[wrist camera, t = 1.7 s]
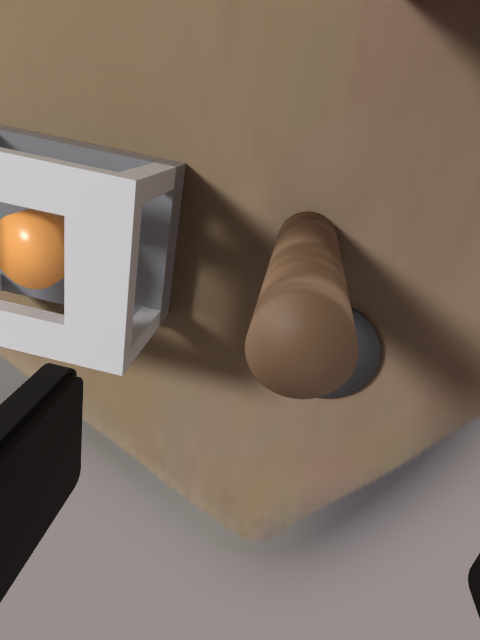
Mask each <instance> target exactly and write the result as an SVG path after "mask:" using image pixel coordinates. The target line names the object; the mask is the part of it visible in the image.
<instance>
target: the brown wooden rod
mask: <svg viewBox="0 0 480 640" xmlns="http://www.w3.org/2000/svg"><path fill="white" fill-rule="evenodd" d="M245 355H246V360H247V363H248V366H249V368H250V370H251V371H252V373H253V375H254V376H255V377H256V378H257V380H258V381H259V382H260V383H262V384H263V385H264V386H265V387H267V388H268V389H269V390H271V391H273V392H275V393H277V394H279V395H282V396H285V397H289V398H295V399H311V398H317V397H321V396H324V395H327V394H329V393H331V392H333V391H335V390H337V389H338V388H339V387H341V386H342V385H343V384H344V383H345V382H346V381H347V380H348V379H349V378H350V376H351V375H352V373H353V371H354V369H355V367H356V365H357V361H358V355H359V345H358V340H357V335H356V330H355V324H354V319H353V314H352V309H351V304H350V299H349V294H348V289H347V283H346V278H345V273H344V268H343V263H342V258H341V253H340V248H339V242H338V237H337V232H336V230H335V227H334V225H333V224H332V223H331V221H330V220H329V219H327V218H326V217H325V216H323V215H321V214H319V213H316V212H301V213H297V214H295V215H293V216H291V217H290V218H289V219H288V220H286V221H285V223H284V224H283V225H282V227H281V229H280V231H279V234H278V237H277V240H276V244H275V247H274V250H273V253H272V256H271V259H270V263H269V266H268V269H267V272H266V275H265V279H264V282H263V285H262V288H261V291H260V295H259V298H258V301H257V304H256V307H255V310H254V314H253V317H252V320H251V323H250V326H249V330H248V333H247V336H246V341H245Z"/></svg>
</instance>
